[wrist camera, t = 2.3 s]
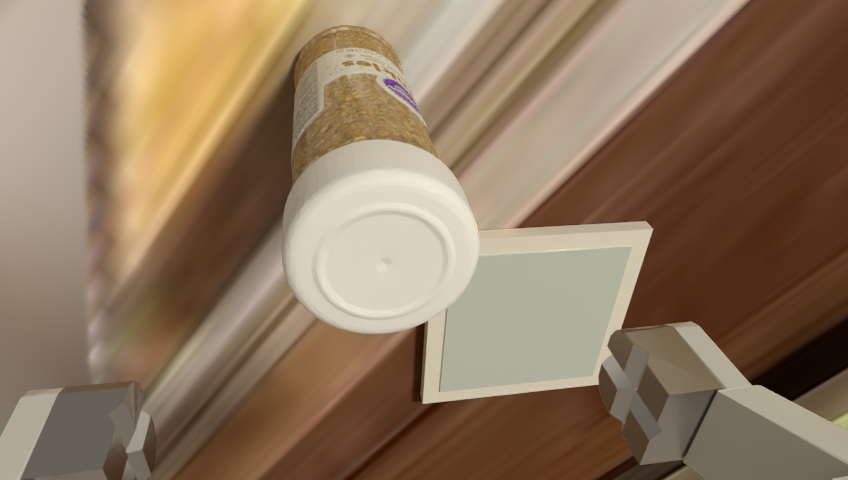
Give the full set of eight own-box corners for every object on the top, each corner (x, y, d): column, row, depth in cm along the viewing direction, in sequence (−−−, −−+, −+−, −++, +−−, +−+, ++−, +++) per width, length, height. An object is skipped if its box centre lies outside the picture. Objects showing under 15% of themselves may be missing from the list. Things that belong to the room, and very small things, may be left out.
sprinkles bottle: (420, 54, 23) (523, 221, 12) (371, 145, 25) (424, 361, 14) (318, -1, 22) (333, 140, 11) (274, 102, 23) (248, 312, 12)
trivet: (645, 221, 31) (654, 229, 30) (597, 374, 37) (603, 385, 36) (430, 233, 29) (434, 243, 28) (420, 393, 35) (422, 405, 34)
